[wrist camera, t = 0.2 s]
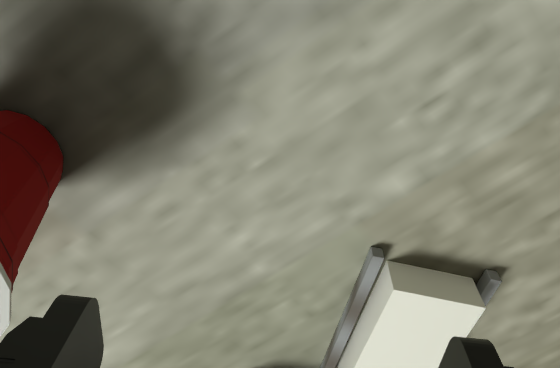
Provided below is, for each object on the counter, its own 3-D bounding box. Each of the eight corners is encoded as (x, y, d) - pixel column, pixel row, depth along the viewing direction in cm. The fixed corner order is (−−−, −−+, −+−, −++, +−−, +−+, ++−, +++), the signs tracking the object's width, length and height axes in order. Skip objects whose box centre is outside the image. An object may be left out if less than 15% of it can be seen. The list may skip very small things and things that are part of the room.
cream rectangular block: (385, 256, 32) (393, 289, 29) (470, 274, 32) (485, 308, 30) (337, 361, 38) (339, 396, 35) (408, 374, 39) (416, 409, 36)
